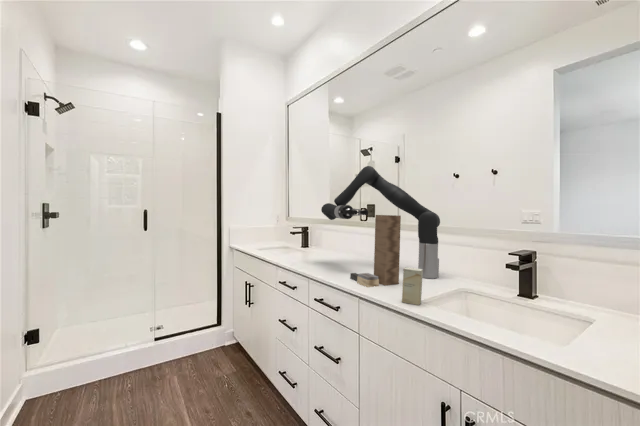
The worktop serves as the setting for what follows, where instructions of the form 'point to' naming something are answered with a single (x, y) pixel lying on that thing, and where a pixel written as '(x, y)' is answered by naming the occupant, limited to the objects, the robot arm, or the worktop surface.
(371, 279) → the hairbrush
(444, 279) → the worktop surface
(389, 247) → the walnut stand
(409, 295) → the skincare box
